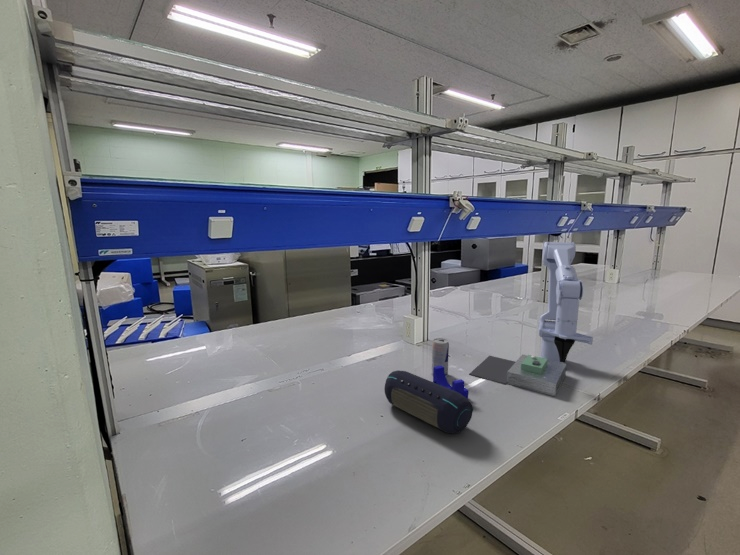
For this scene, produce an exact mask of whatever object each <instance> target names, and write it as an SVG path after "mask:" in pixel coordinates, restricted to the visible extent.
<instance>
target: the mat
mask: <svg viewBox="0 0 740 555" xmlns="http://www.w3.org/2000/svg"><path fill="white" fill-rule="evenodd" d="M515 362H516V360H510V359H506V358H501V357H497V356H494V355H488V357H486V358H485V359H484V360H483V361H482V362H481V363H480V364H478V365H477V366H475V368H474V369H473V370H472V371H471V372H470V373H468V375H469V376H473V377H475V378H480V379H483V380H487V381H492V382H494V383H498V384H501V385H506V384H507V371H508V370H509V369H510V368H511V367H512V366H513V365H514V363H515Z"/></svg>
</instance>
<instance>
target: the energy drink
mask: <svg viewBox="0 0 740 555" xmlns="http://www.w3.org/2000/svg"><path fill="white" fill-rule="evenodd" d="M449 345H450V344H449V340H447V339H446V338H434V339H433V341H432V350H431V351H432V352H431V353H432V354H431V375H432V376H433V367H436V366H443V367H444V372H445V377H446V378H447V376H448V375H449V374H448V373H449V349H450V346H449Z"/></svg>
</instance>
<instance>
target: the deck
mask: <svg viewBox="0 0 740 555" xmlns="http://www.w3.org/2000/svg"><path fill="white" fill-rule="evenodd" d="M527 356H528V354H521V355H520V356H519V358H518V359H517V360H515V363H514V365H513V366H512V367H511V368H510V369H509V370H508V371H507V383H506V384H507V385H511V386H514V387H518V388H522V389H526V390H529V391H533V392H536V393H541V394H543V395H548V396H551V397H556V396H557V393H558V391H559V389H560V388H561V385H562V383H563V381H564V379H565V377H566V375H567V374H566V372H567V363H560V362H555V361H550V360H548V362H547V366H546V367H545V369H544V371H543V372H542V374H538V373H534V372H530V371H526V370H522V369H521V363H522V362H523V361H524V360H525V359H526V357H527Z"/></svg>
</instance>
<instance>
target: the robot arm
mask: <svg viewBox="0 0 740 555" xmlns="http://www.w3.org/2000/svg"><path fill="white" fill-rule="evenodd" d="M576 247H577V246H576V243H575V242H574V241H571V242H569V241H568V242H566V241H564V242H563V241H562V242H561V241H545V242H543V245H542V265H543V266H545V267H546V268H547V270H548V290H547V292H548V295H547V296H548V298H547V311H546V312H545V313H543V314H541V315H540V316H539V318H538V319H539V320H538V328H537V332H538V336H539V337H540V338H541V346H540V347H541V348H540V349H541V350H540V357H541V358H545V359H548V360H550V361H555V362H560V363H564V364H566V361H567V357H568V354H569V352H570V350H571V349H572V347H573V346H574V345H575V342H579V343H584V344H588V345H591V346H592V345H593V343H594V336H590V335H585V334H581V333H578V332H577V327H578V318H579V306H580V301H581V300H582V298H583V294H584V285H583V283H584V282H583V281H582V280H580V278H578V275H577V271H576V267H574V266H573V265H572V263H573V260H574V259H575V256H576Z"/></svg>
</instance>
